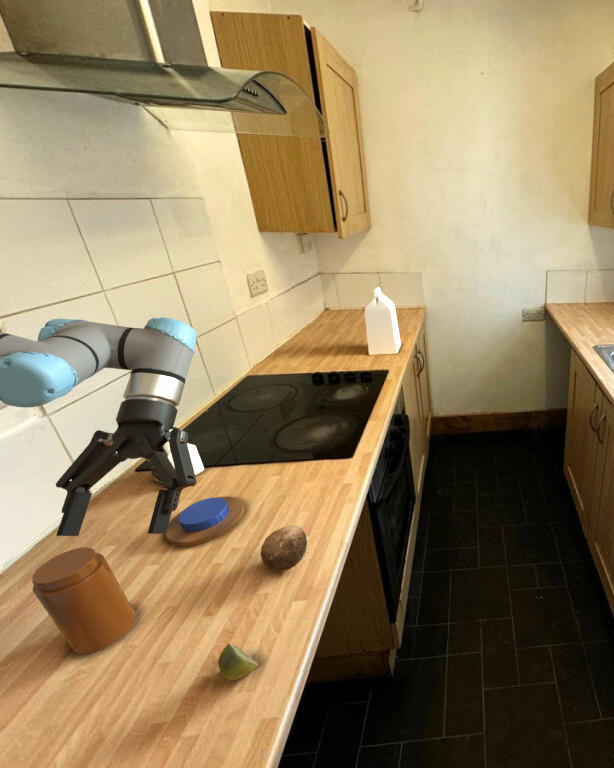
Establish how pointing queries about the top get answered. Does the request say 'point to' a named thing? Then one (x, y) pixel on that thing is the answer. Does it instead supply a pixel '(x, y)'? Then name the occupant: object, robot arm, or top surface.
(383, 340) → the milk
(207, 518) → the lid
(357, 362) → the top surface
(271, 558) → the brown oval lump
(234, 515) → the coaster
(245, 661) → the lime
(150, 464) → the medicine bottle
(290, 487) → the top surface
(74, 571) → the jar
